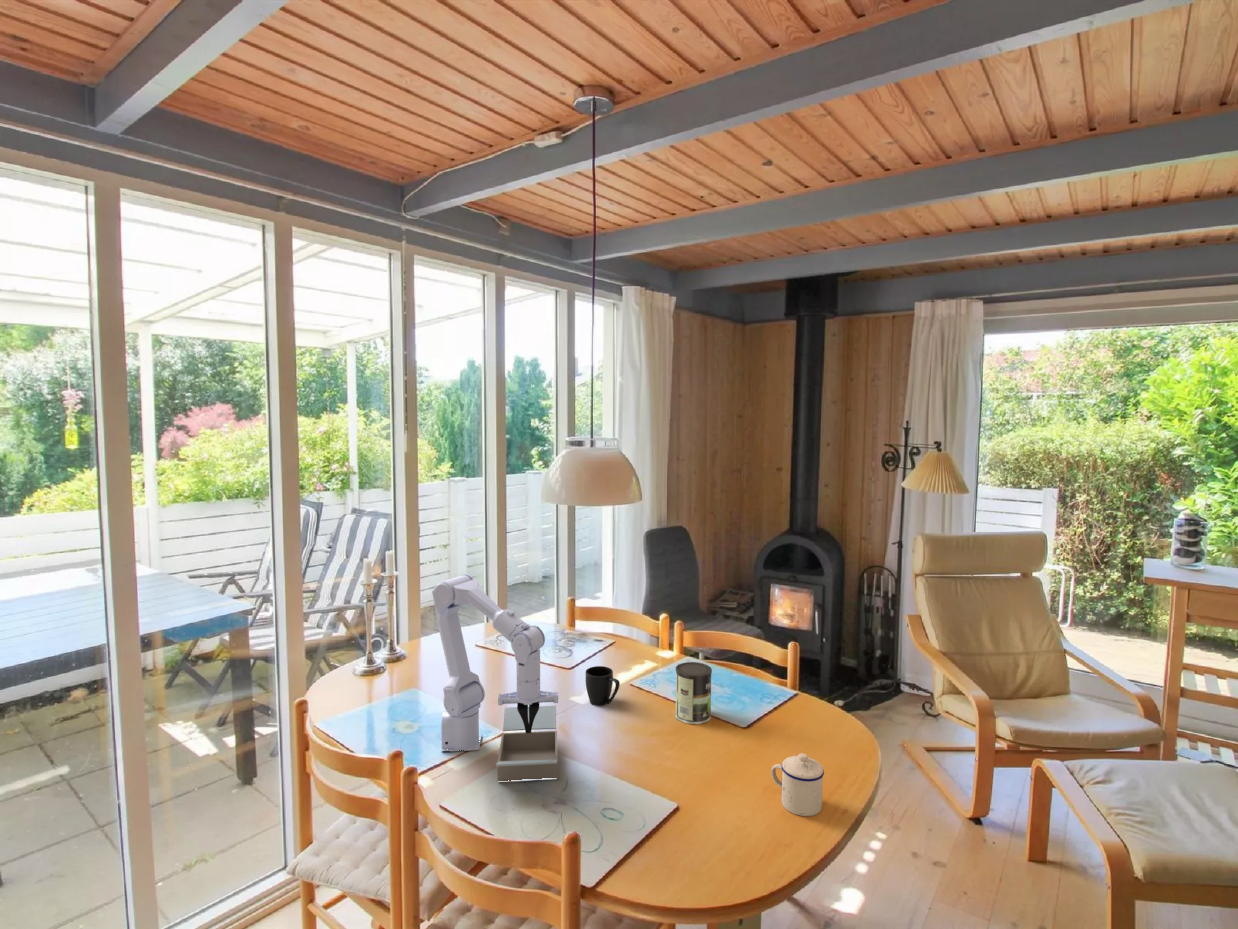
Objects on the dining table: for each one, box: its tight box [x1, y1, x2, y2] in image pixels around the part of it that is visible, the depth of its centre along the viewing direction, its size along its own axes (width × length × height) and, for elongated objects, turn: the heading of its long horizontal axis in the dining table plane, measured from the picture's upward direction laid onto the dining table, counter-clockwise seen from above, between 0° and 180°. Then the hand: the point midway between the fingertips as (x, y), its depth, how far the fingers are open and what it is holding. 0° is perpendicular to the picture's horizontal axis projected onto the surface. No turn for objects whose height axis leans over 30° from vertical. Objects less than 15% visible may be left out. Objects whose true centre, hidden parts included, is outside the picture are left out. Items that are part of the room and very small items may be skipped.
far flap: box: [502, 705, 557, 732], centre depth 171 cm, size 14×7×1 cm, turn 96°
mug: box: [585, 665, 621, 707], centre depth 195 cm, size 8×12×10 cm
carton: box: [497, 730, 559, 782], centre depth 161 cm, size 14×14×5 cm
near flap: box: [495, 759, 557, 767], centre depth 150 cm, size 14×7×1 cm, turn 96°
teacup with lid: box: [770, 752, 825, 817], centre depth 146 cm, size 12×9×12 cm
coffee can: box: [674, 661, 713, 725], centre depth 187 cm, size 10×10×14 cm
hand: (528, 731), depth 161 cm, fingers closed
